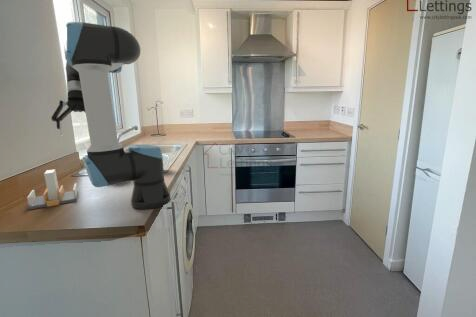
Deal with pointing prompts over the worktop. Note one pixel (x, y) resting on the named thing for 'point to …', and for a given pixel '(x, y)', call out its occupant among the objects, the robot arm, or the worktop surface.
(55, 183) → the panel
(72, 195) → the rack
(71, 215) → the worktop surface
